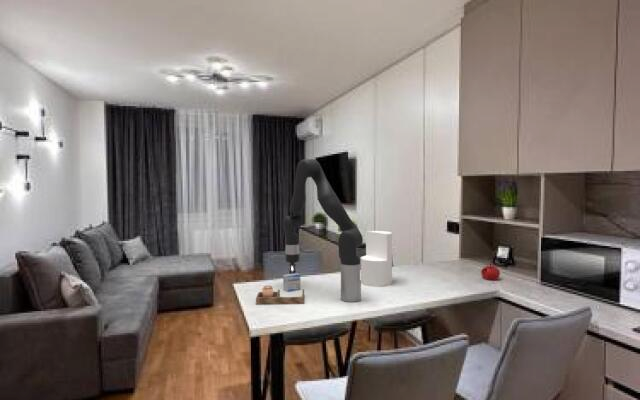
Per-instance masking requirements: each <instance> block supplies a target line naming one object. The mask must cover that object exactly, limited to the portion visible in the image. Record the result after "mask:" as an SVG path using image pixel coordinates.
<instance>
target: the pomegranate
mask: <svg viewBox="0 0 640 400" xmlns="http://www.w3.org/2000/svg"><path fill="white" fill-rule="evenodd" d="M480 274H481V277H482V278H483V279H485V280H486V281H487V280H488V281H497V280H498V279H499V278H500V275H501V271H500V269H499V267H497V266H496V265H495V264H494V265H492V262H490V263H489V265H488V264H486V265H484V266H483V268H482V269H481V271H480Z"/></svg>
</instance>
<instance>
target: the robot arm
mask: <svg viewBox="0 0 640 400" xmlns="http://www.w3.org/2000/svg"><path fill="white" fill-rule="evenodd" d="M308 178H311V179H312V181H313V182H314V184H315V185H316V189H317V200H318V203H319V205H320V206H321V209H322V210H323V212H324V213H325V214H326V216H327V217H329V218H330V219H331V220H332V221H333V222H334V223H335V224H336V225H337V226H338V228H339V229H340V230H341V233H339V236H338V239H337V240H338V245H337V246H338V257H339V260H340V300H341V301H343V302H347V303H355V302H360V301H362V283H361V257H359V256H358V255H357V249H358V248H360V247H361V246H362V244H363V241H364V239H363V238H364V237H363V235H362V233H361V231H360V230H359V228H358V227H357V226H356V224H355V223H354V222H353V220H352V219H351V218H350V216H349V214H348V213H347V211H346V209H345V208H344V206H343V204H342V202H341V200H340V199H339V197H338V196H337V194H336V192H335V191H334V189H333V187H332V186H331V184H330V182H329V181H328V179H327V176H326V175H325V172H324V170H323V168H322V166H321V164H320V163H319V161H318V160H317V159H314V158H309V159H308V158H305V159H302V160H300V161H299V162H298V163H297V165H296V172H295V178H294V179H295V180H294V190H293V194H292V198H291V202H290V206H289V212H290V213H292V214H293V215H287V216H284V217H283V219H282V221H281V222H282V229H283V232H284V234H285V250H284V252H285V253H284V254H285V262H286V263H289V264H288V271H289V273H288V274H293V273H297V264H296V263H298V262H300V237H299V236H300V235H299V234H298V233H296V232H294V231H293V230H295V229H299V228H300V227H301V226H302V225H303V210H304V207H305V204H306V198H307V196H306V191H305V185H306V181H307V180H308Z"/></svg>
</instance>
